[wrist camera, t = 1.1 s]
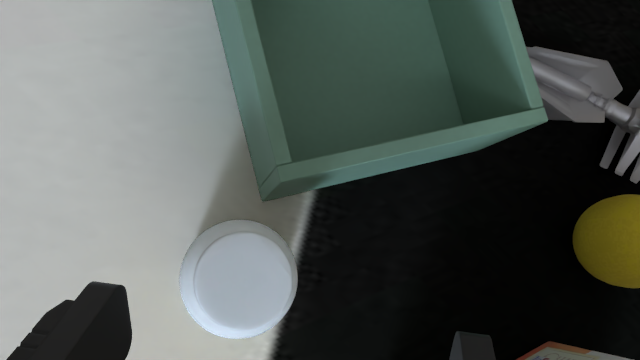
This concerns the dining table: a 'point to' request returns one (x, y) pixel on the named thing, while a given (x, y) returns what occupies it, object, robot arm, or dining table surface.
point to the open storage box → (373, 84)
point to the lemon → (611, 240)
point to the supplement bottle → (238, 279)
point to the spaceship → (588, 99)
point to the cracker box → (566, 353)
